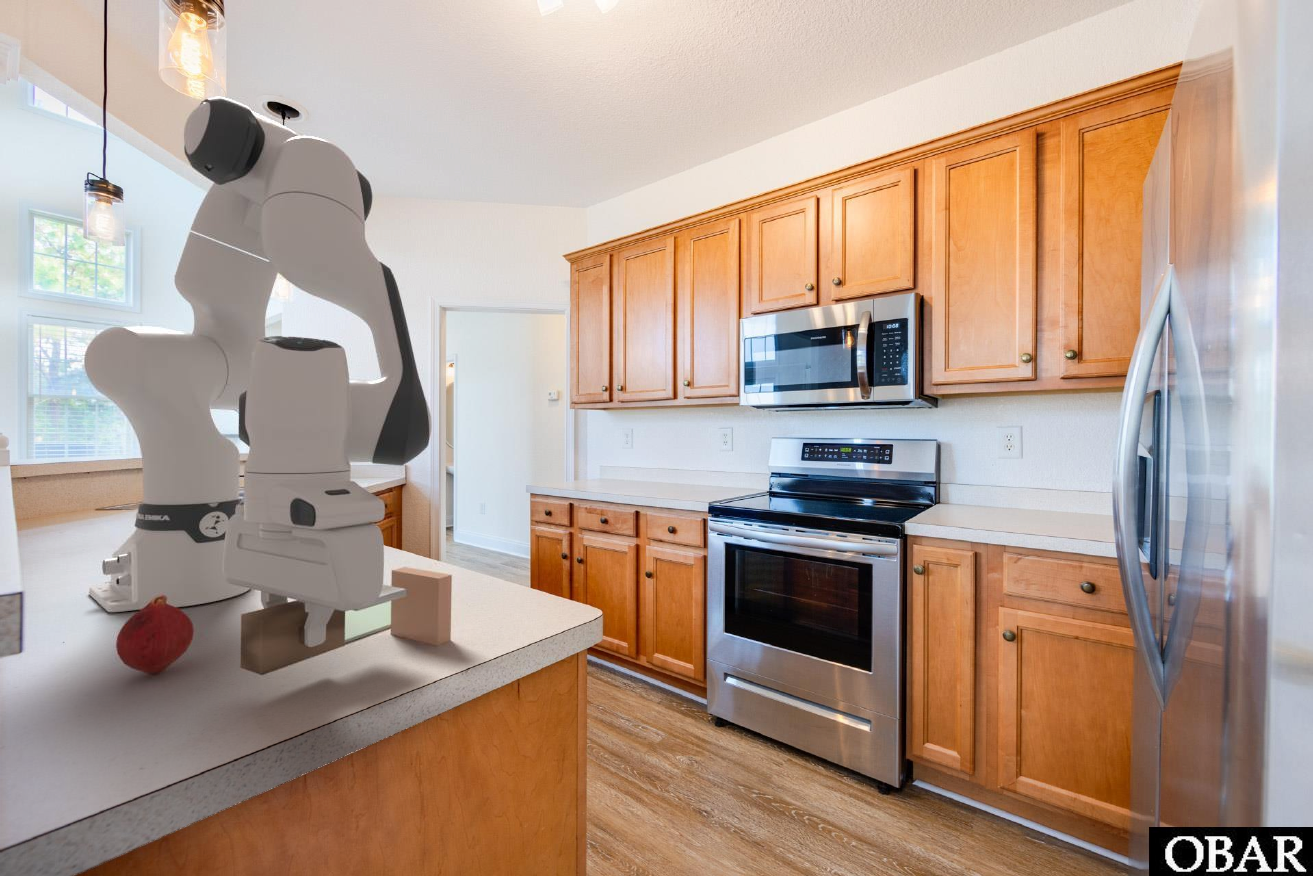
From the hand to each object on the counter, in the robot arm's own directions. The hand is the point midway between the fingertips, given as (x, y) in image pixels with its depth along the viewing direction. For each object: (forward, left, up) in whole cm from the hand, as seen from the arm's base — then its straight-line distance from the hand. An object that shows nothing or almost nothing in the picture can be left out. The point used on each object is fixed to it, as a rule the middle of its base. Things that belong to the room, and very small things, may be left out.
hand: (296, 639), depth 55 cm
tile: (0, +15, -5) cm, 16 cm away
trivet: (-12, +15, -5) cm, 20 cm away
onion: (-15, -5, -5) cm, 16 cm away
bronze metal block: (0, +3, -2) cm, 3 cm away
